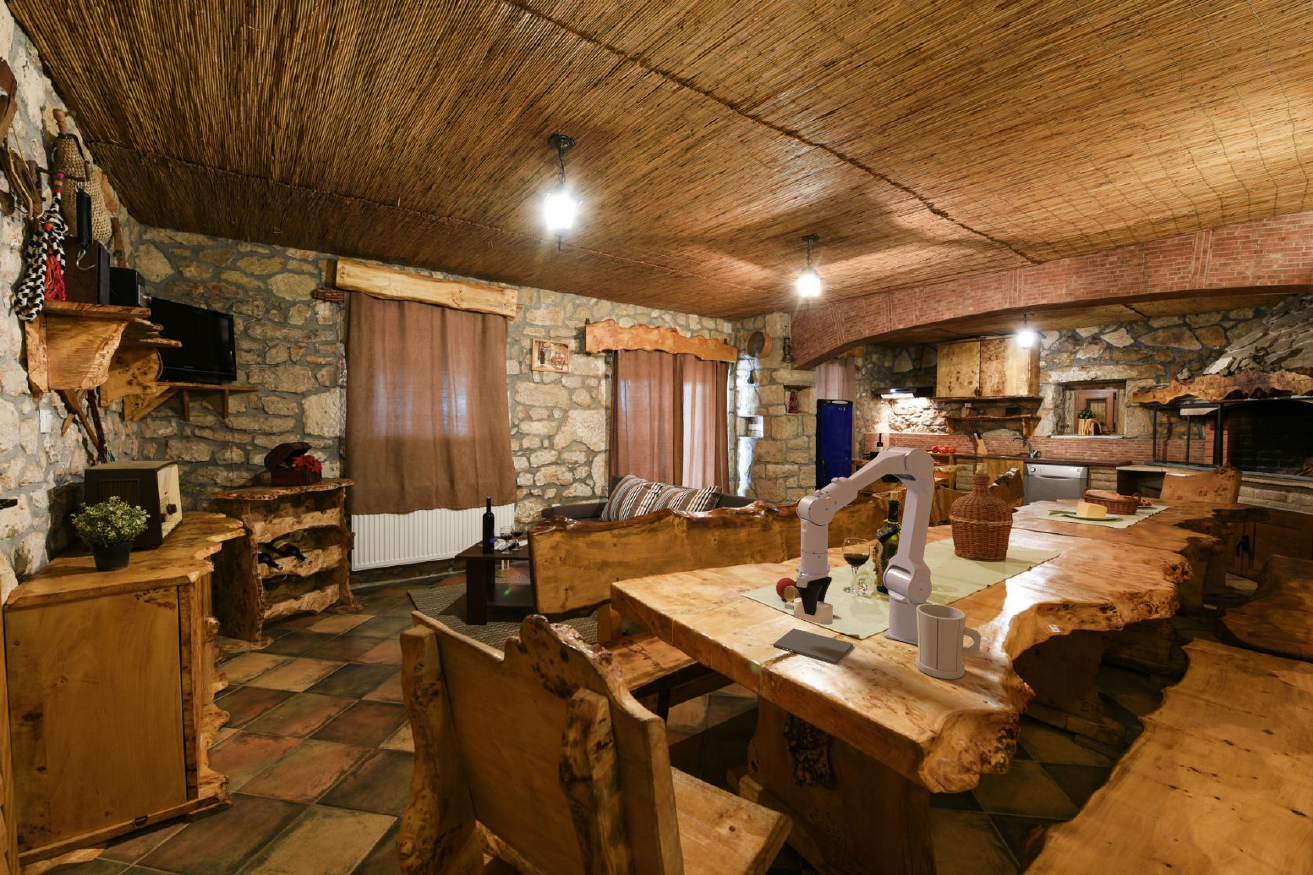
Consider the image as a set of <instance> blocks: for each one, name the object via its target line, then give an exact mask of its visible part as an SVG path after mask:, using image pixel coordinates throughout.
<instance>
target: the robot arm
mask: <svg viewBox="0 0 1313 875" xmlns="http://www.w3.org/2000/svg"><path fill="white" fill-rule="evenodd" d="M934 466H935V459H934V457H932V455H931V454H930V453H929V451H927V450H926V449H924V448H922V447H915V448H914V447H904V446H897V445H891V446H888V447H886V448H885V449H884V450H881V451H879V452H878V454H877V456H876V457H875V458H874V459H872V460H871V461H869V462H868V463H867V464H865V465H864V466H863V467H861V468H859V470H857V471H856V472H854V473H853V474H852V475H850V476H849V477H848V478H847V477H845V476H841V477H833V478H832V479H831V483H829V484H828V485H826V486H824V487H823V488H821V489H817V490H815V491H814V495H805V496H803V497H802V498H801V499H800V500H799V503H798V506H797V507H795V511H796V514H797V517H798V518H799V519H800V566H797V567H795V572H798V575H797V577H796V580H794V581H795V586H796V588H797V590H798V591H799V594H800V596H801V599H802V603H803V608H804V612H805V614H809V615H813V616H814V615H815V613H816V608H817V601H820V602H825V600H826V599H825V598H826V595H827V592H828V590H829V587H830V585H831V584H832V581H833V578H832V577H831V576H829V573H830V572H831V564H830V563H829V562H828V557H829V552H828V551H829V550H828V548H829V547H828V546H829V544H828V543H829V524H830V523H831V522H832V520H833V519H834V516H835V514H836V513H837V512H839V511H840V510H841V509H843V508H844V507H845V506H847V505H848V504H851V502H853V501H855V500H856V499H857V497H858V492H859V491H860V490H862V489H864V488H865V487H866V486H868V485H870V484H872V483H874V482H875V481H877V480H879V479H880V478H882V477H884V476H886V475H893V476H894V477H896V478H898V479H899V480H900V481H901V483H903V485H904V486H905V488H906V489H907V490H906V495H905V501H904V507H903V508H904V509H903V515H902V522H901V528H900V534H899V538H898V539H899V540H898V548H897V553H896V554H895V555H894V556H892V557H891V558H890V559H889V560H888V565H887V567H886V569H885V571H884V572H883V574H882V582H883V585H884V587H885V588H886V589H887V593H888V595H889V605H888V606H889V608H888V609H889V614H888V615H889V617H888V628H887V630H886V631H885V632H884V634H883V637H884V638H888V639H892V640H896V641H901V642H903V643H904V642H905V643H909V644H912V645H917V646H918V628H917V612H916V607H917V606H918V605H922V604H934V603H932V602H929V601H927V600H928V599H929V597H930V596H931V594H932V592H933V585H932V581H931V574H932V571H931V569H930V567H928V565H927V563H926V562H925V560H924V558H925V557H924V556H925V551H926V550H925V549H926V545H927V537H928V530H929V523H930V519H931V518H930V517H931V511H932V505H933V498H934V493H935V492H934V491H935V478H934V474H933V471H934Z"/></svg>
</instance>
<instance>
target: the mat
mask: <svg viewBox="0 0 1313 875" xmlns="http://www.w3.org/2000/svg"><path fill="white" fill-rule="evenodd" d="M772 646H775V647H774V648H777V647H778V649H780V648H784V649H788V650H792V651H793V652H792V653H794V652H797V653H796V654H798V653H799V654H798V655H802V656H805V655H806V656H805V657H809V658H812V659H816V660H819V661H822V662H827V663H828V664H829V663H830V664H833V665H837V664H838V663H839V662H840V661H841V660H842V658H844V657H845V655H846V654H847V653H848V652H849V651H850V650H851V649H853V647H854V643H852V642H848V641H845V640H841V639H837V638H832V637H829V636H825V635H821V634H817V633H813V632H810V631H806V630H802V629H797V628H795V627H793V628H792V629H790V630H789V631H788V632H786V634H784V635H783V636H781V637H780V638H779V639H778V640H776V641H775V642H774V643H773V644H772ZM784 649H783V650H784Z"/></svg>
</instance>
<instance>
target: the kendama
mask: <svg viewBox="0 0 1313 875" xmlns="http://www.w3.org/2000/svg"><path fill="white" fill-rule="evenodd" d="M795 581H796V580H794V579H793V578H790V577H783V578H780V579H779V580H778V581H777V582H776V584H775V591H776V594H777V595H778V596H779V597H780V598H781V599H783V600H785V601H786V602H792V603H794V599H795V598H801V596H800V594H799V591H798V590H797V588H796V586H795Z"/></svg>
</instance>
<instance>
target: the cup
mask: <svg viewBox="0 0 1313 875" xmlns="http://www.w3.org/2000/svg"><path fill="white" fill-rule="evenodd" d="M916 612H917V628H918V645H917V655H916V656H915V658H914V659H915V661H914V662H915V663H914V664H915V666H916V668H917V669H918V670H920V671H921V672H922V673H923V674H925V673H926V675H928V676H931V677H933V678H938V679H940V680H941V679H942V680H943V679H944V680H957V679H959V678H961V677H963V676H964V675H965V665H964V664H963V656H970V657H973V656H976V655H977V654H978V653H979V652H980V648H981V641H982V640H981V639H982V635H981V633H980V632H979V630H976V629H973V628H971V627H968V626H966V618H967V616H966V615H967V614H966V613H965V612H963V611H962V610H960V609H958V608H957V607H953V606H950V605H945V604H940V603H938V604H937V603H933V604H922V605H918V606H917V607H916ZM964 636H967V637H970V638H971V639H972V641H973V644H972V645H971V646H969V647H964Z"/></svg>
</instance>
